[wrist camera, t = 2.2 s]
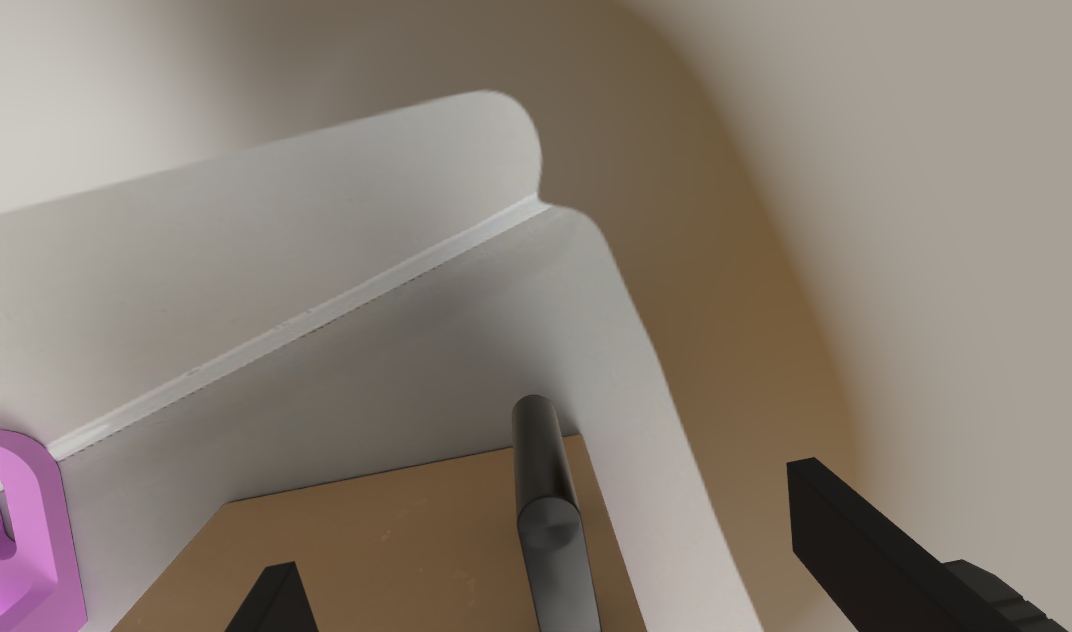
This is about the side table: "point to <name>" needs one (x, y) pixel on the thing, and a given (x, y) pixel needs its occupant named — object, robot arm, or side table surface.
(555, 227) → the side table surface
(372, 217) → the side table surface
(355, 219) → the side table surface
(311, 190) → the side table surface
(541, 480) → the cabinet door
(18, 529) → the bracket
